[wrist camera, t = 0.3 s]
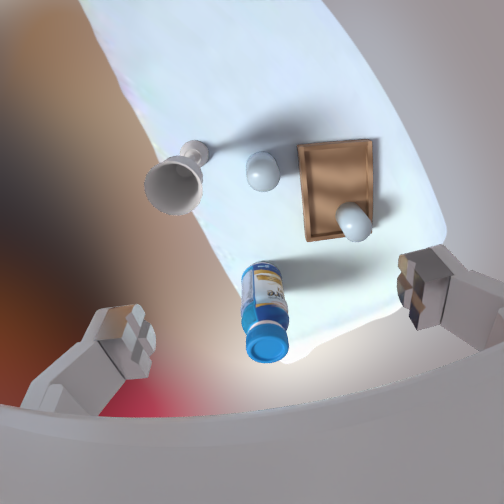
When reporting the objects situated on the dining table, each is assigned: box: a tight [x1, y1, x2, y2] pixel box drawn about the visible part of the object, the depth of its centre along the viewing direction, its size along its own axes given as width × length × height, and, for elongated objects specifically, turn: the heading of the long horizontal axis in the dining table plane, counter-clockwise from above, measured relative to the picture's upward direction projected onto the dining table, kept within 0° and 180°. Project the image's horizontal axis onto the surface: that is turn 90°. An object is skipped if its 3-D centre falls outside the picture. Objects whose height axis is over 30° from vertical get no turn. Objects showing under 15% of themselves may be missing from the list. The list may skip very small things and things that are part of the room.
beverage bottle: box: [241, 262, 289, 363], centre depth 57 cm, size 8×8×20 cm
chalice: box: [144, 140, 209, 215], centre depth 44 cm, size 7×7×18 cm
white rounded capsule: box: [335, 202, 372, 242], centre depth 55 cm, size 5×5×6 cm
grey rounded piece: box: [246, 152, 280, 192], centre depth 51 cm, size 5×5×6 cm
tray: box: [297, 139, 373, 242], centre depth 55 cm, size 18×13×2 cm
